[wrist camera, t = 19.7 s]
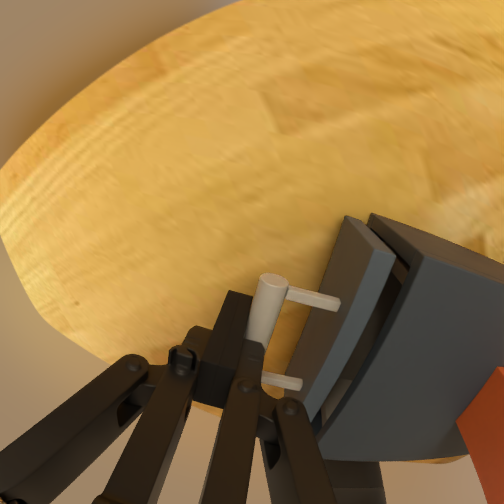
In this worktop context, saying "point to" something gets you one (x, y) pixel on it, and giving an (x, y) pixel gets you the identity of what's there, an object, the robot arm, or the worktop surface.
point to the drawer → (332, 317)
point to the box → (487, 435)
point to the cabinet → (421, 355)
